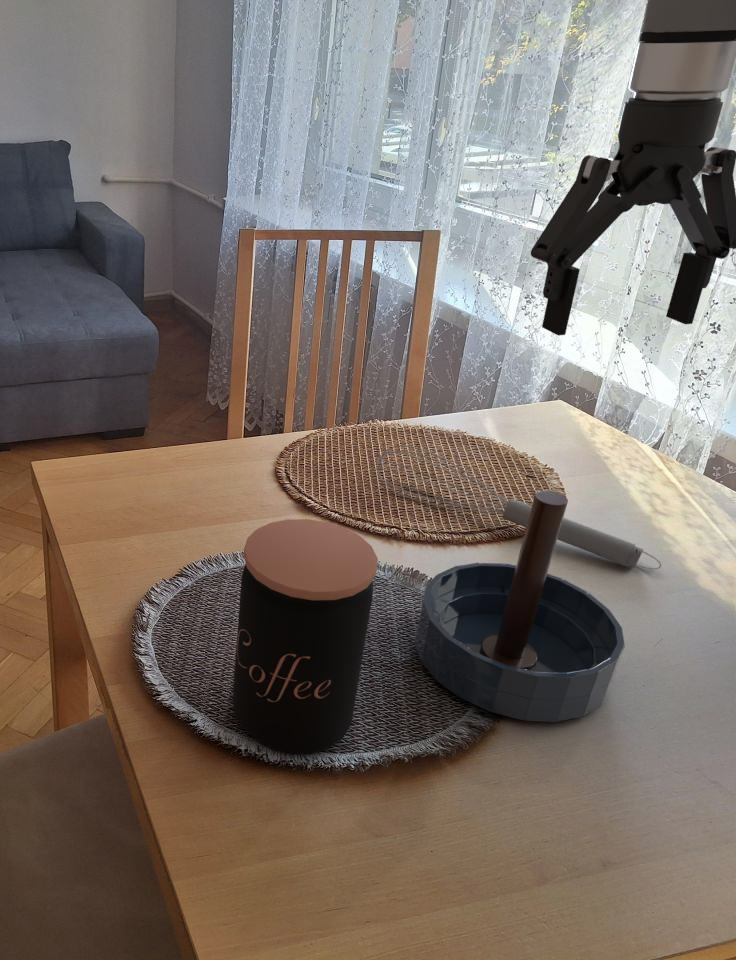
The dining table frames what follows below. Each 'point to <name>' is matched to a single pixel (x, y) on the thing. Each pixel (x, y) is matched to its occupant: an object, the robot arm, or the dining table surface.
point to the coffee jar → (301, 633)
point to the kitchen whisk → (520, 515)
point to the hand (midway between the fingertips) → (616, 326)
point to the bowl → (554, 636)
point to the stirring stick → (527, 584)
